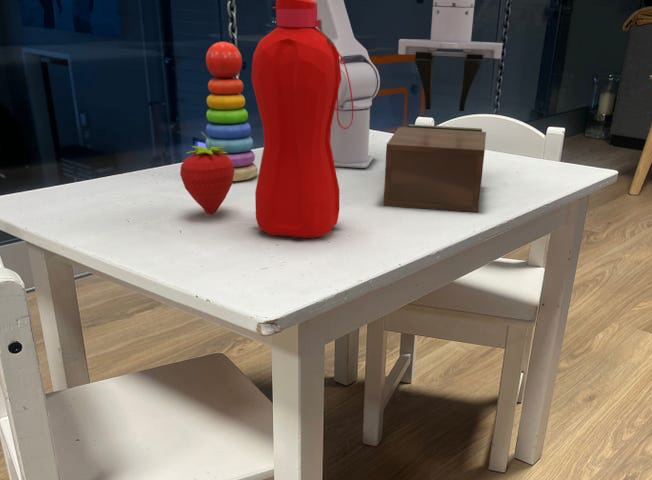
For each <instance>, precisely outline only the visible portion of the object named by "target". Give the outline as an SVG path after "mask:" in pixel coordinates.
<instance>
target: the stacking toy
mask: <svg viewBox="0 0 652 480" xmlns="http://www.w3.org/2000/svg"><path fill="white" fill-rule="evenodd" d="M205 63H206V64H205V65H206V67H207V70H208V72H209V73H210V74H211V75H212V76H213V78H211V79H210V80H209V81H208V83H207V89H208V91H209V92H210V93H211V94H209V95H208V96H207V97H206V105H207V106H208V107H209V108H208V109H207V111H206V115H205V116H206V119H207V121H208V122H207V124H206V127H205V132H206V134H207V135H208V136H207V138H208V139H209V140H210V142H211V143H210V142H209V140H208V139H207V138H206V139H205V148H209V143H210V148H211V147H224V148H223V149H219V150H223V151H225V152H227V153H229V154H223V155H226V156H228V157H229V158H230V159H231V161H232V162H233V166H234V170H235V171H234V176H233V181H232V182H241V181H248V180H250V179H253V178H254V177H255V176H256V175H257V174H258V167H257V165H256V163H254V162H255V159H256V155H255V153H254V151H253V150H252V148H253V147H254V140H253V138H252V137H251V136H250V134H251V133H252V127H251V124H250V123H248V122H247V120H248V118H249V113H248V111H247V109H245V108H244V106H245V105H246V98H245V96H244V95H243V94H241V93H242V92H243V91H244V83H243V81H242V80H241V79H239V78H237V76H238V75H239V74H240V72H241V69H242V67H243V58H242V54H241V52H240V50H239V49H238V47H236V45H234V44H233V43H230V42H228V41H219V42H216V43H213V44H212V45H210V47H209V48H208V49H207V52H206V55H205ZM210 148H209V149H210Z"/></svg>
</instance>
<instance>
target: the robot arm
mask: <svg viewBox="0 0 652 480" xmlns="http://www.w3.org/2000/svg"><path fill="white" fill-rule="evenodd" d="M312 1H315V2H317V21H318V20H319V19H320V20H322V26H321V27H322V32H323V33H324V34H325V35H326V36H327V37H328V38H330V39H331V40H332V42H333V43H334V45H335V47H336V48H337V51H338V52H339V54H340V55H341V56H342V58H343V59H344V62H345V65H346V68H347V72H348V76H349V81H350V86H351V91H352V99H353V121H352V124H351V125H350V123H351V120H352V101H351V93H350V87H349V82H348V78H347V73H346V70H345V66H344V63H343V61H342V59H341V57H340V56H339V59H340V69H341V82H340V86H339V91H338V119H339V122H340V124H341V126H342V127H344V128H347V127H349V125H350V127H349V128H347V129H343V128H341V127H340V125H339V123H338V120H337V101H336V106H335V110H334V115H333V120H332V125H331V140H330V143H331V149H332V154H333V159H334V164H335V167H343V168H357V169H367V168H368V167H369V165H370V164H371V163H372V161H373V160H374V155H369V151H370V150H369V147H370V119H371V118H370V117H371V106H372V105H373V99H375V97H376V96H377V95H378V93H379V90H380V87H381V77H380V74H379V73H380V72H379V70H378V69H377V67H376V65H374V63H373V62H372V61H371V59H370V56H369V53H368V50H367V49H366V47H364V46H363V45H362V44H361V43H360V42H359V41H358V40H357V39H356V38H355V35H354V32H353V29H352V26H351V22H350V18H349V15H348V12H347V8H346V4H345V1H344V0H312ZM475 3H476V0H432V11H431V12H432V15H431V26H430V27H431V28H430V39H417V38H416V39H415V38H414V39H412V38H411V39H410V38H400V39H399V40H398V51H397V52H398V53H397V54H398V55H403V56H404V55H414V64H415V66H416V69H417V72H418V75H419V79H420V82H421V86H422V89H423V96H424V105H425V106H424V107H425V110H431V109H432V105H433V77H434V76H433V75H434V65H435V56H441V57H442V56H443V57H463V58H465V59H464V64H463V75H462V77H463V79H462V88H461V95H460V101H459V107H458V108H459V109H458V111H459V112H465V108H466V102H467V99H468V95H469V92H470V90H471V89H472V88H471V87H472V84H473V83H474V80H475V78H476V76H477V74H478V72H479V71H480V68H481V66H482V65H483V62H484V59H485V58H489V59H496V60H497V59H498V60H500V59H502V53H503V52H502V51H503V42H490V41H488V42H487V41H474V40H473V41H472V33H473V22H474V13H475V12H474V11H475ZM316 28H317V29H318V27H316ZM318 30H319V31H320V29H318ZM438 49H443V50H462V52H460V51H458V52H457V51H437V50H438Z"/></svg>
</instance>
